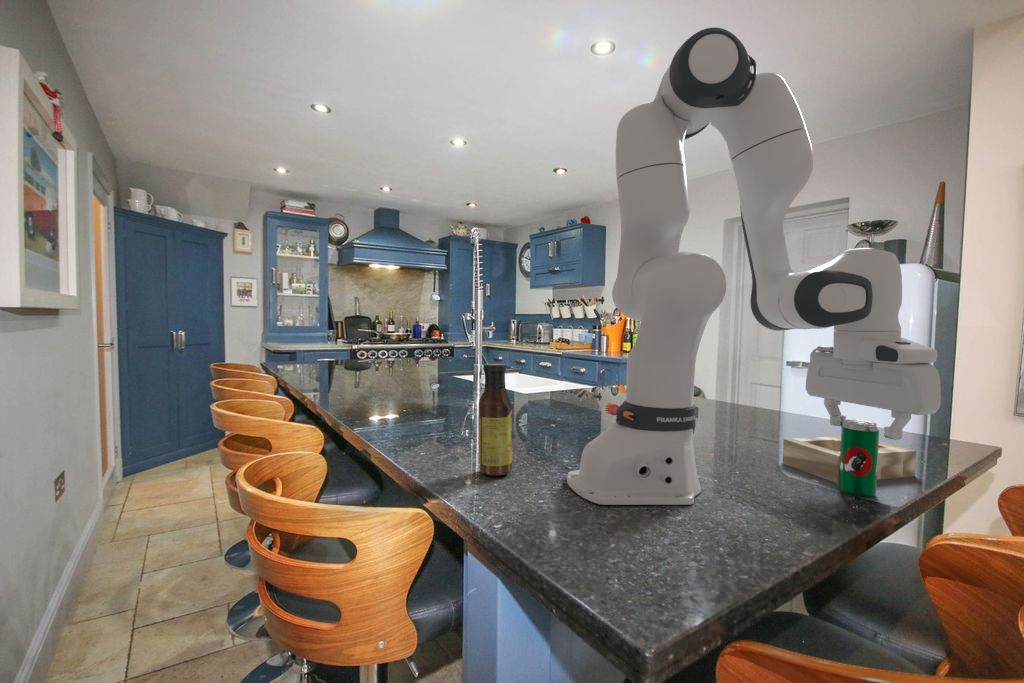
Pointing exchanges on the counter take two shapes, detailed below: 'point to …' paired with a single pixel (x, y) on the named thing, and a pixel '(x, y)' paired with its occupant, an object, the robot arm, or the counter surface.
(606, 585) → the counter surface
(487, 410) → the sauce bottle
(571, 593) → the counter surface
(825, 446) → the keyhole board
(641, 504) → the robot arm
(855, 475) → the soda can
